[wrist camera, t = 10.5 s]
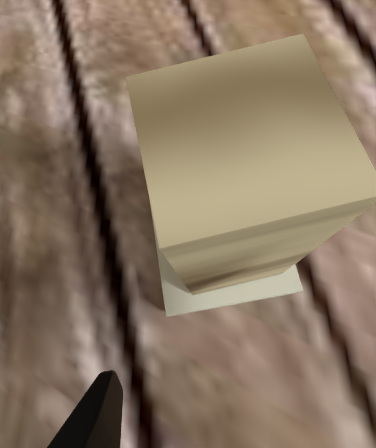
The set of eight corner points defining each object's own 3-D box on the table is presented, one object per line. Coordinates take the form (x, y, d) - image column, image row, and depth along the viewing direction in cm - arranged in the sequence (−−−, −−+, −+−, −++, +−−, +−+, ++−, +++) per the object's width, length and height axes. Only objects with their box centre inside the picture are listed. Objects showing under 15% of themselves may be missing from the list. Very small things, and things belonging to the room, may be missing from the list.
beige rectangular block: (281, 273, 19) (387, 193, 7) (192, 295, 19) (159, 248, 7) (254, 193, 21) (303, 33, 9) (173, 212, 21) (126, 76, 9)
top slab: (297, 292, 20) (303, 291, 18) (169, 316, 20) (166, 316, 19) (263, 178, 23) (266, 169, 21) (152, 200, 23) (148, 193, 21)
